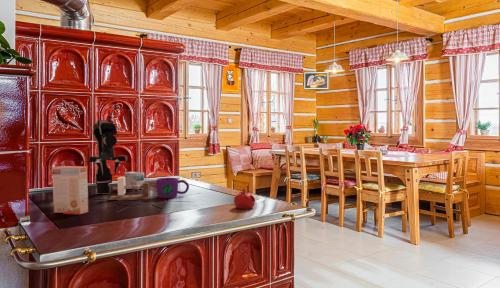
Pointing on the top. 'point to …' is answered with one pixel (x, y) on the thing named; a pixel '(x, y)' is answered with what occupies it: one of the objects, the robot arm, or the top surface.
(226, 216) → the top surface
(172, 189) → the mug
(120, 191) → the tan rectangular block
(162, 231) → the top surface
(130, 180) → the light bulb box
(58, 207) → the cracker box
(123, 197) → the rod stand
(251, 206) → the pomegranate
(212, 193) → the top surface
